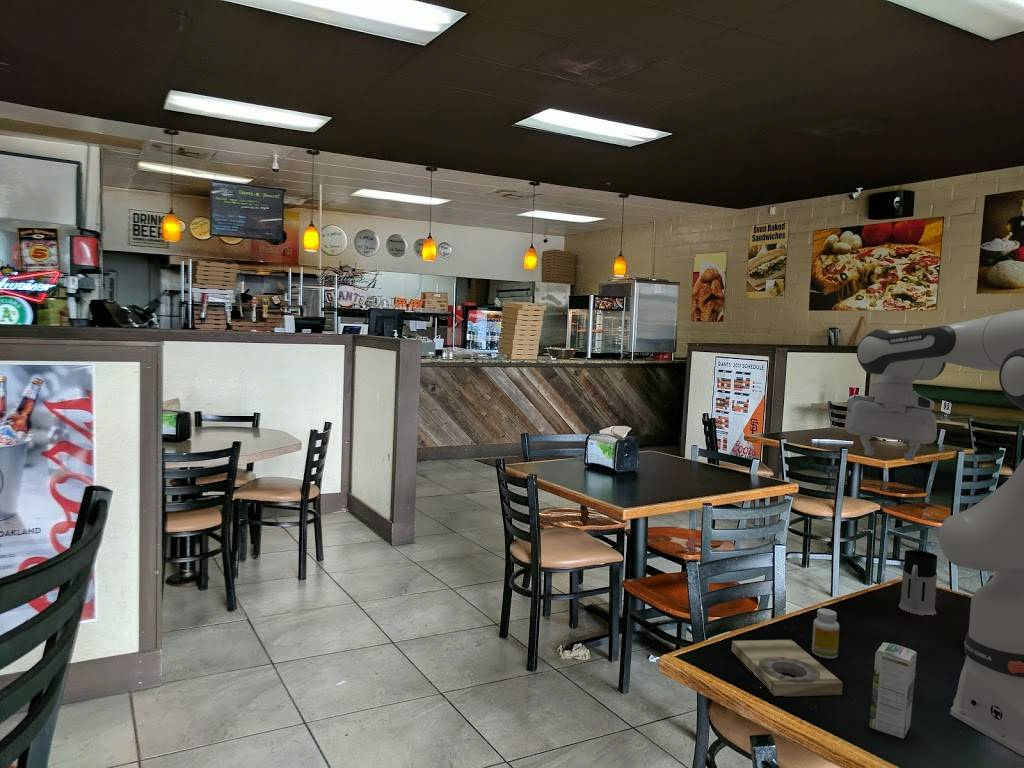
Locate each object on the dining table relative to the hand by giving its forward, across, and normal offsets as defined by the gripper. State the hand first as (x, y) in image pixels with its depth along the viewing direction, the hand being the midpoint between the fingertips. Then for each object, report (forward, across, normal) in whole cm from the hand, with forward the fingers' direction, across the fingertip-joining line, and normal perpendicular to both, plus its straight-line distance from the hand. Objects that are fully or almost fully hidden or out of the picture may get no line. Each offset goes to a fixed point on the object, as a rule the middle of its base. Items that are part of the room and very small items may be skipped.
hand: (889, 457), depth 163 cm
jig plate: (+49, -24, -5) cm, 55 cm away
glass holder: (+35, +25, +29) cm, 52 cm away
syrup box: (+54, -13, -25) cm, 61 cm away
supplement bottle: (+46, -11, +4) cm, 47 cm away
